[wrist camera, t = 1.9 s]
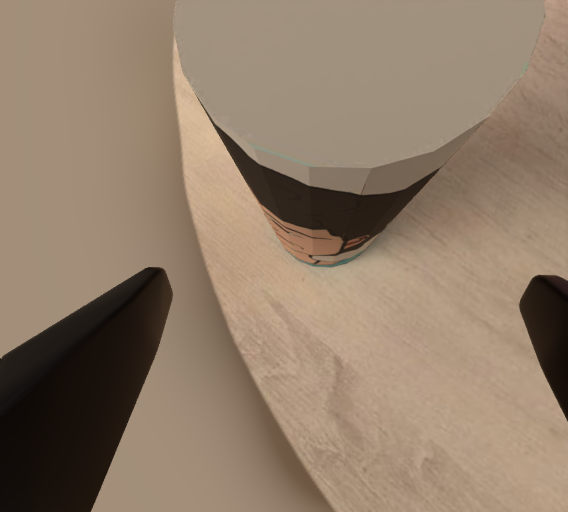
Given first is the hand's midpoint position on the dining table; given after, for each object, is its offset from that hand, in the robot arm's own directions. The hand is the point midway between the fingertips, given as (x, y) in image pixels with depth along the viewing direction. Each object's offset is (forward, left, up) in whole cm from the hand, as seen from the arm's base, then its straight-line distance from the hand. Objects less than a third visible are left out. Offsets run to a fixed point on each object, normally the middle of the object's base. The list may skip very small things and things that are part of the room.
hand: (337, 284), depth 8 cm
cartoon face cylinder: (+5, +1, -12) cm, 13 cm away
